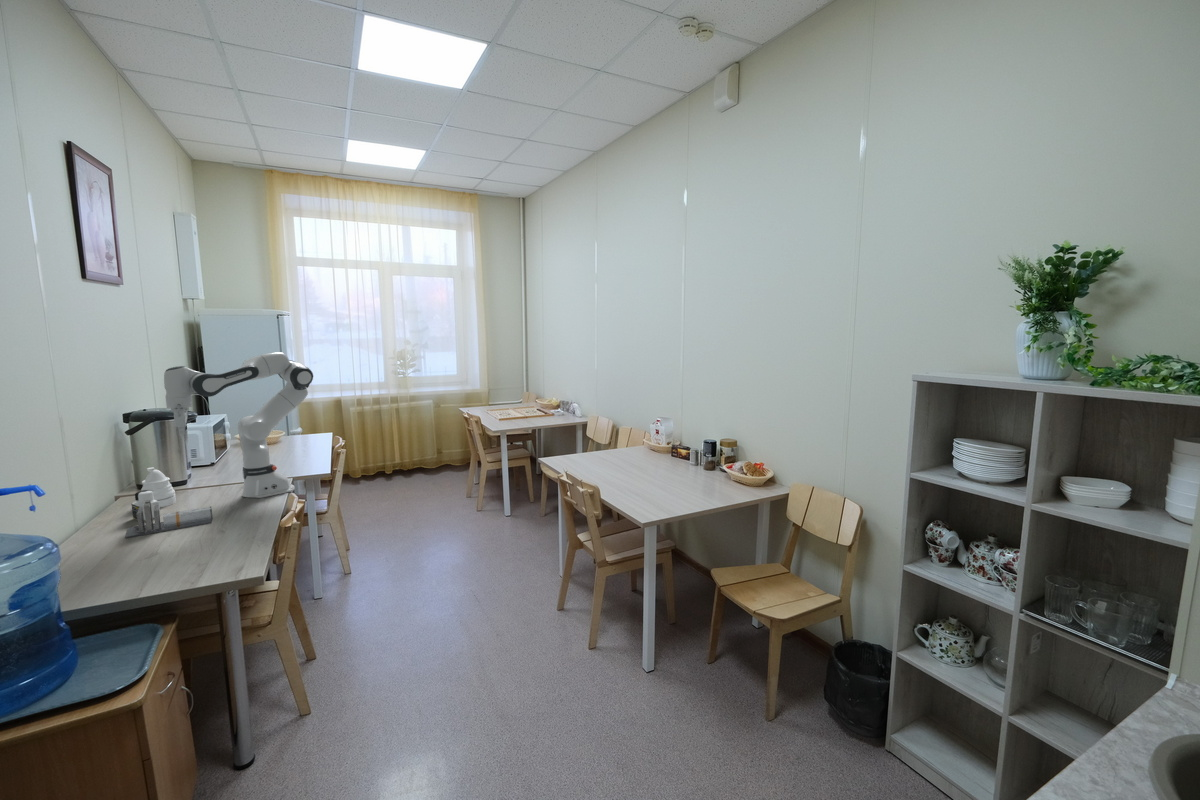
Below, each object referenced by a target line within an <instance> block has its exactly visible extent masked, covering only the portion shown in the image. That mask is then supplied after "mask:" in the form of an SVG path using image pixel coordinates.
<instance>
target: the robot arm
mask: <svg viewBox="0 0 1200 800" xmlns="http://www.w3.org/2000/svg"><path fill="white" fill-rule="evenodd" d="M275 375H278V376H279V377H280V378H281V379H282V380H283V381H284V382H286V384H285V386H284V387H283V388H282V389H280V391H278V392H277V393H276V394H275V395H273V396H272V397H271V398H269V399H268V400H267V401H266V402H265V403H264V404H263V406H262V407H261V408H260V409H258V411H257V412H256V413H255V414H254V415H246V416H244V417H242V418H241V419H240V420H239V422H238V424H237V429H238V437H239V442H240V446H241V447H240V448H241V453H242V462H243V464H242V465H243V467H242V478H243V490H242V494H241V496H242V497H243V498H257V499H263V498H266V497H271V496H276V495H277V496H278V495H281V494H285V493H291V492H293V491H295V490H296V488H295V485H294V484H292V483H290V480H289V477H287V476H286V474H285V475H284V474H282V473H281V472H278V471H277V470H278V467H277V466H276V465H275V464H273V463H271V462H270V461H271V460H270V448H269V446H268V445H269V444H268V442H267V441H268V439H267V438H268V437H269V435H270V434H271V433H272V432H273V430H274V429H275V428H277V426H278V425H279V424H280V422H281V421H282V420H283V419H285V418H286V417H287V416H288V415H289V414H290V413H291V412H293V411H294V410H295V409H296V408H298V406H299V405H300V404H301V403H302V402H303V401H304V400H306V397H308V393H309V392H308V388H309V387H310V385H311V383H312V381H313V380H314V373H313V371H312V370H311V369H310V367H308V366H305V365H304V364H302V363H300V362H298V361H295V360H290V359H289V357H288V356H287V355H286V354H285V353H284V352H282V351H281V352H280V351H275V352H268V353H262V354H259V355H255V356H252V357H250V358H248V359H246V360H244V362H243V363H242V365H241V366H239V367H238V368H235V369H233V370H229V371H226V372H223V373H219V374H215V373H214V374H212V373H206V372H202V371H201V372H200V371H196V370H194V369H192V368H189V367H187V366H185V365H181V366H180V365H179V366H173V367H168V368H167V369H165V371H164V375H163V385H164V386H163V387H164V390H165V392H166V394H165V402H166V403H165V405H166V408H167V409H170V412H172V413H173V420H174V421H173V422H174V426H175V428H177V431H178V435H179V437H184V436H185V432H186V426H187V421H188V418H189V417H188V415H189V414H188V412H189V411H190V408H191V407H193V399H192V398H193V397H192V395H193V394H197V395H199V396H201V397H206V398H207V397H208V398H210V397H215V396H216V395H219V393H221V392H222V391H223V390H224V389H226V388H229V387H232V386H234V385H237V384H241V383H243V382H246V381H254V380H262V379H265V378H269V377H271V376H275Z"/></svg>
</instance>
